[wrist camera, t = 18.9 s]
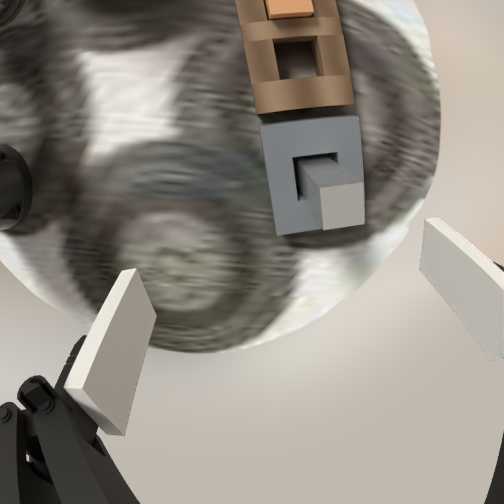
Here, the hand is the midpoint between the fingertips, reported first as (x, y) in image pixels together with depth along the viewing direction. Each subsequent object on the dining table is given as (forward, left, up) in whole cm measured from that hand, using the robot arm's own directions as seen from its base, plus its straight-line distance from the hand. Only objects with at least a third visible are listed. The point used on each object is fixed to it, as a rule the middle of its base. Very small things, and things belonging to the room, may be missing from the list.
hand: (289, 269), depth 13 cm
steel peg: (+6, -3, -30) cm, 31 cm away
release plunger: (+6, +20, -29) cm, 36 cm away
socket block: (+6, +16, -30) cm, 34 cm away
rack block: (+6, -3, -30) cm, 31 cm away
